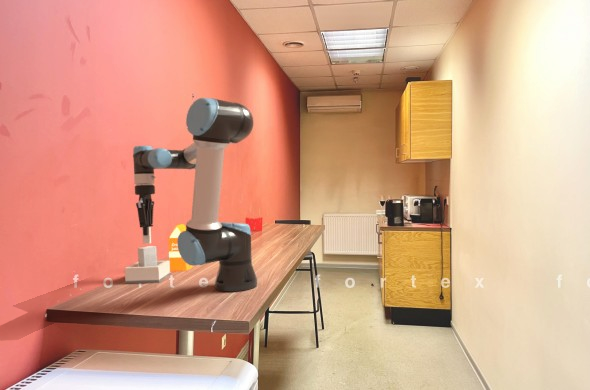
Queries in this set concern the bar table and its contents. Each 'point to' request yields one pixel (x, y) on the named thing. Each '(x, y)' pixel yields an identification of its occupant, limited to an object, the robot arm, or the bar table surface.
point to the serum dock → (147, 273)
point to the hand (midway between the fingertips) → (147, 243)
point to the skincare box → (147, 256)
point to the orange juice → (176, 251)
